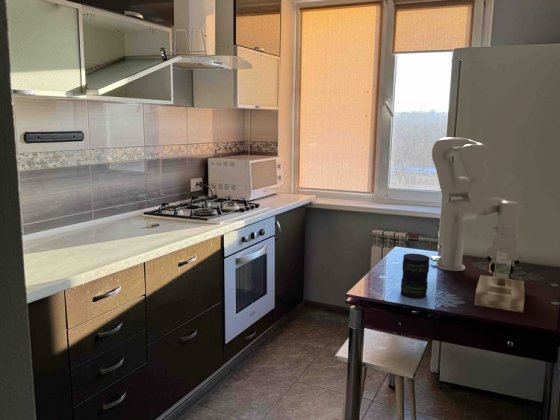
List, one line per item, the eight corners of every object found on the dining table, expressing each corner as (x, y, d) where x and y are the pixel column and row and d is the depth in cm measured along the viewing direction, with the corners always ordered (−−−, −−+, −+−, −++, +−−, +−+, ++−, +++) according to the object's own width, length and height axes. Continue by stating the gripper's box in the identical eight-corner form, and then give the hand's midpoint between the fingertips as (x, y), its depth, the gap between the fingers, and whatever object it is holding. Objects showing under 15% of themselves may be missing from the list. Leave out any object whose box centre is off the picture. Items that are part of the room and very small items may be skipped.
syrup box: (506, 282, 212) (511, 249, 209) (508, 286, 206) (512, 252, 204) (492, 280, 214) (496, 247, 211) (493, 284, 208) (497, 250, 206)
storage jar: (422, 300, 187) (425, 261, 184) (396, 295, 192) (399, 257, 189) (429, 293, 195) (433, 256, 192) (405, 288, 200) (407, 252, 198)
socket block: (474, 304, 184) (475, 291, 183) (479, 286, 206) (480, 274, 205) (522, 312, 178) (524, 299, 177) (522, 293, 199) (523, 281, 198)
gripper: (483, 230, 206) (478, 272, 209) (530, 235, 199) (524, 279, 202) (484, 227, 213) (479, 268, 216) (529, 232, 206) (524, 274, 209)
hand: (501, 273), depth 209 cm, fingers closed on syrup box, 6 cm apart
